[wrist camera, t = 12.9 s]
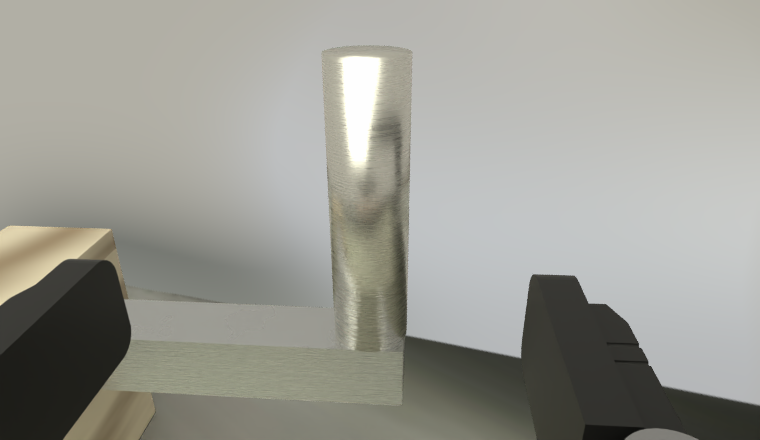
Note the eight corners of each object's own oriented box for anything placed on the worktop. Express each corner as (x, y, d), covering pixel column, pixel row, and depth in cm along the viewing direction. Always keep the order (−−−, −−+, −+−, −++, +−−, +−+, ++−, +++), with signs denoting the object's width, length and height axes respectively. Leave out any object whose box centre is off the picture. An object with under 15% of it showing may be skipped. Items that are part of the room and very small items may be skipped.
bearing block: (155, 411, 36) (111, 229, 30) (40, 604, 25) (-63, 378, 20) (68, 406, 37) (9, 225, 31) (-81, 594, 26) (-217, 370, 20)
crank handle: (406, 360, 27) (413, 45, 21) (404, 407, 24) (411, 60, 18) (-6, 340, 29) (-120, 42, 22) (-54, 382, 26) (-201, 54, 19)
